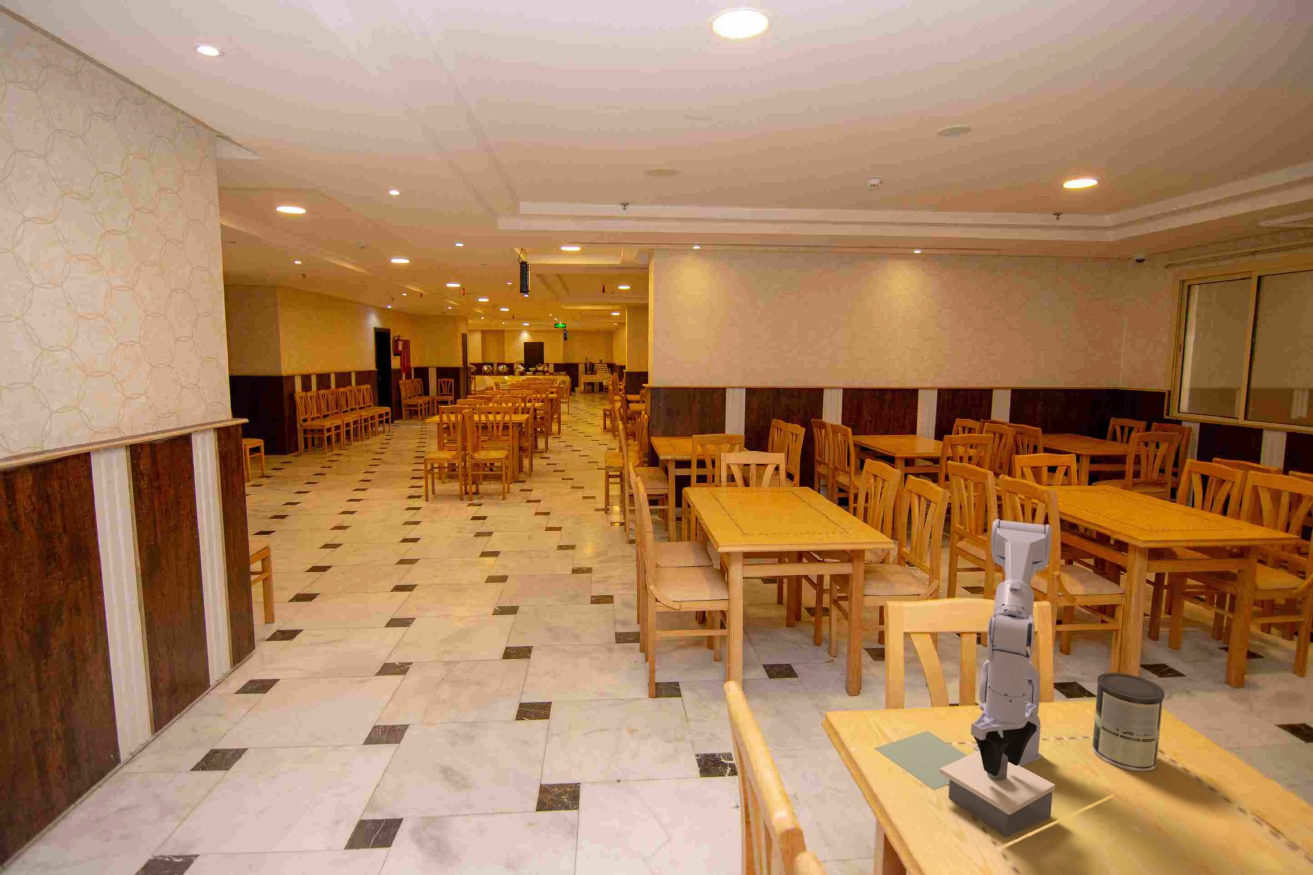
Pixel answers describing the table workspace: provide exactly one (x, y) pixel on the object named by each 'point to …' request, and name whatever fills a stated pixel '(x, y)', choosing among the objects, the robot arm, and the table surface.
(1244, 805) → the table surface
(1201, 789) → the table surface
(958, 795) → the dish
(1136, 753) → the coffee can
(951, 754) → the mat
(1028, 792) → the lid
